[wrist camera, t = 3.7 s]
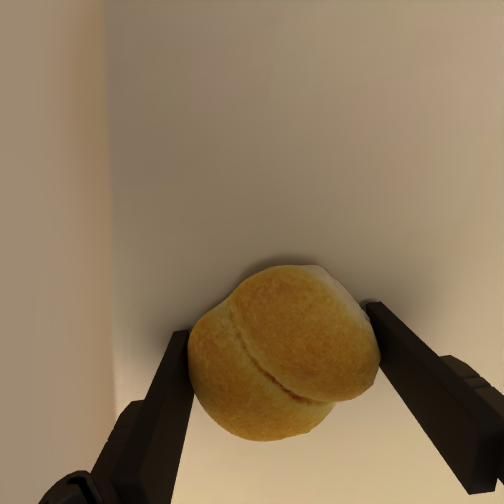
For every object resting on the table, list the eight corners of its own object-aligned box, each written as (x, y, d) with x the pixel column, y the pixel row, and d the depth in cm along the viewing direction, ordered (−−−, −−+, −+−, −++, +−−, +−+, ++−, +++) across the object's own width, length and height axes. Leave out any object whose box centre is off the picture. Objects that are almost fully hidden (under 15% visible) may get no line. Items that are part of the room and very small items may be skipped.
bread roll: (164, 343, 13) (132, 411, 10) (290, 229, 12) (313, 256, 8) (268, 424, 15) (277, 508, 12) (390, 336, 14) (446, 399, 10)
